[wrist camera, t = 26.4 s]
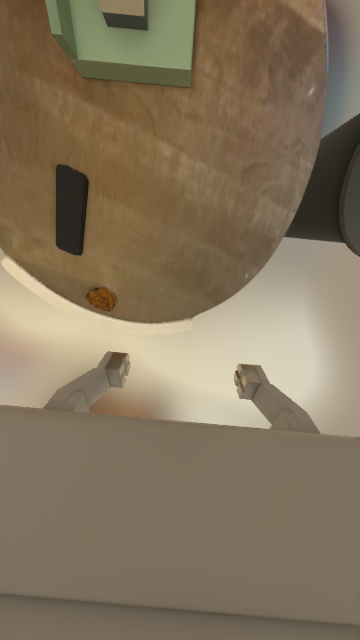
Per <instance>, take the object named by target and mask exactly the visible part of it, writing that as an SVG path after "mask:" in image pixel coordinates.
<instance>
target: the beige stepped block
mask: <svg viewBox="0 0 360 640" xmlns="http://www.w3.org/2000/svg"><path fill="white" fill-rule="evenodd" d="M98 2H99V4H100V7H101V10H102V14H103V16H104V19H105V21H106V24H107V26H108V27H117V28H127V29H137V30H148V0H98Z"/></svg>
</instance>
